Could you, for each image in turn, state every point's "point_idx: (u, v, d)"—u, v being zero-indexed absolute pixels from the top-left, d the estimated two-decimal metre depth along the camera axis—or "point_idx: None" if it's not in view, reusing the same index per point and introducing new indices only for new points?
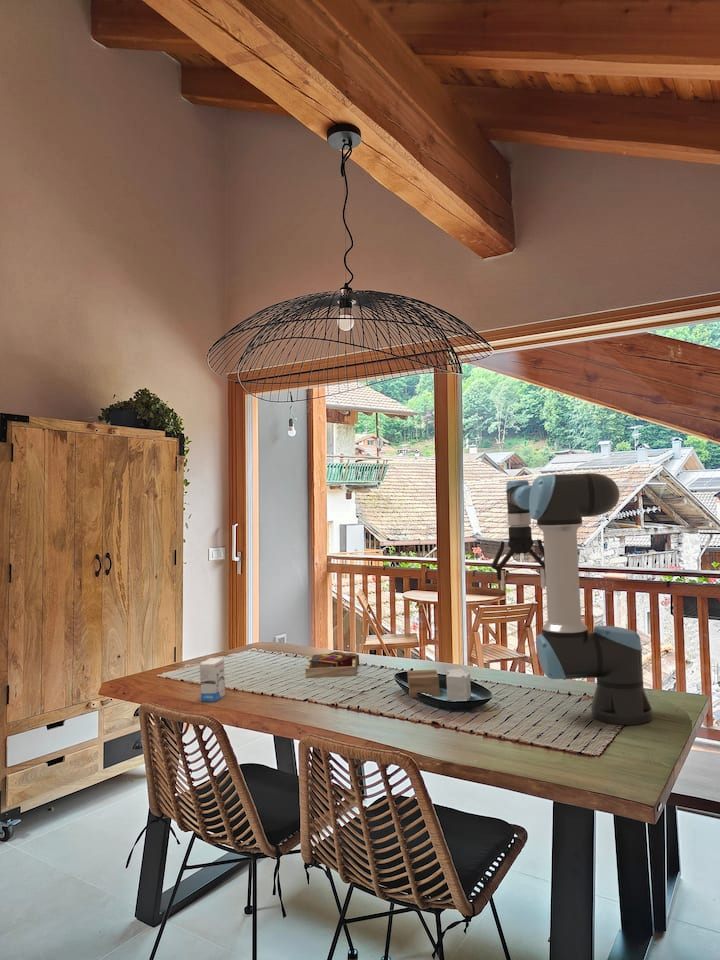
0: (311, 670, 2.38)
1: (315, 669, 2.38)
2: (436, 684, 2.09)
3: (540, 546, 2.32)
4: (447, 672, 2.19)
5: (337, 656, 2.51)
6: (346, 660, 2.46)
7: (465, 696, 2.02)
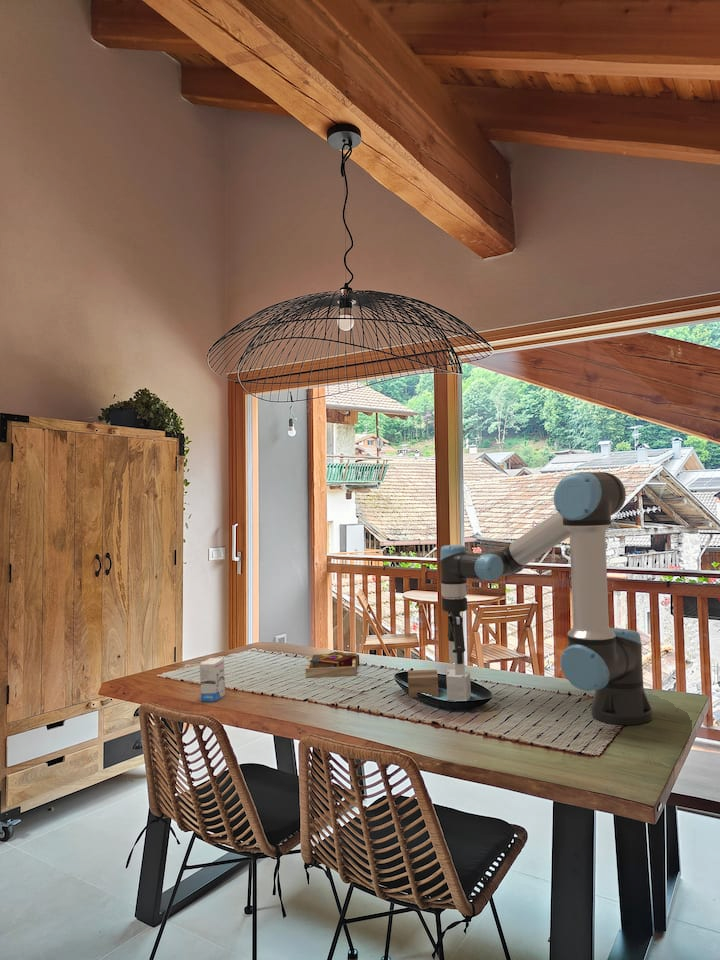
0: (311, 670, 2.38)
1: (315, 669, 2.38)
2: (436, 684, 2.09)
3: (453, 625, 2.00)
4: (447, 672, 2.19)
5: (337, 656, 2.51)
6: (347, 660, 2.46)
7: (465, 696, 2.02)
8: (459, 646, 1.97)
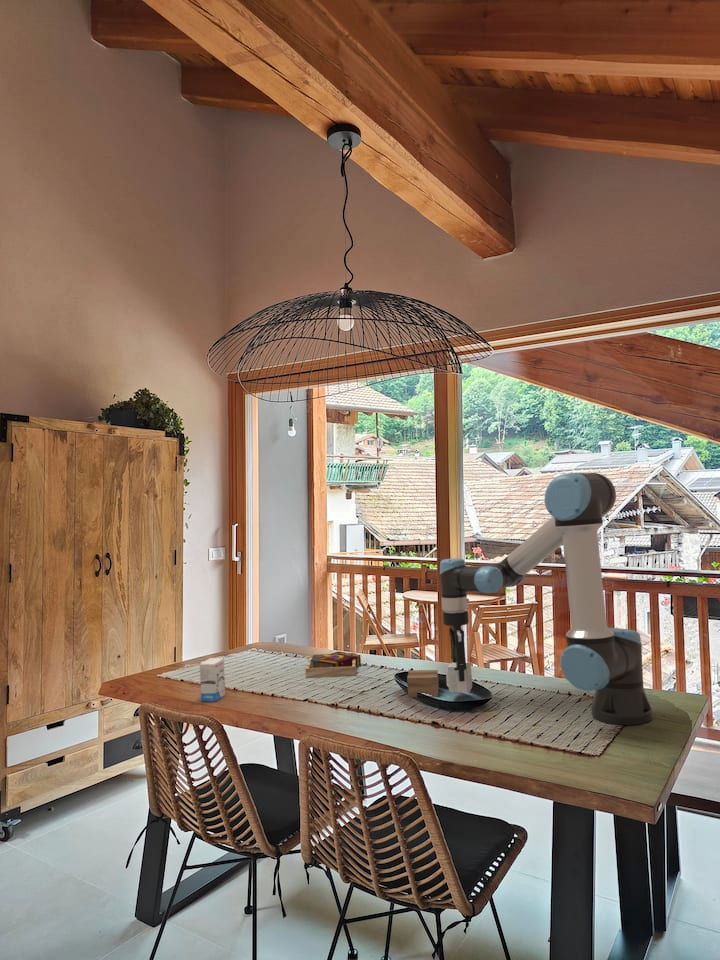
0: (311, 670, 2.38)
1: (315, 669, 2.38)
2: (435, 684, 2.09)
3: (455, 642, 2.00)
4: (447, 672, 2.19)
5: (338, 656, 2.51)
6: (347, 660, 2.46)
7: (467, 686, 2.02)
8: (460, 664, 1.98)
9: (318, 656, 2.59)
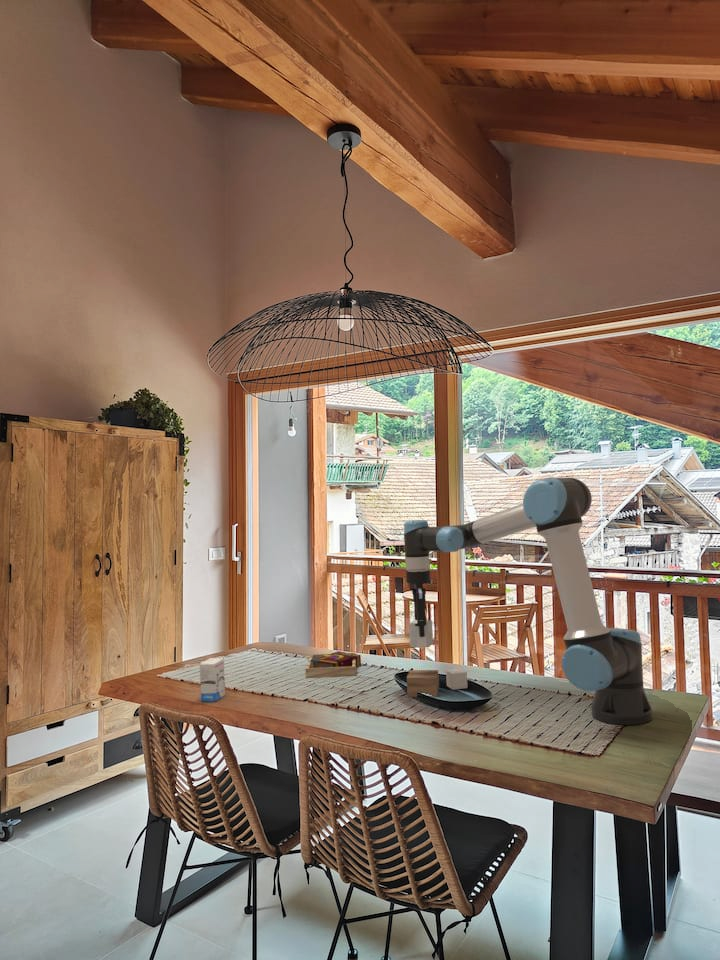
0: (311, 670, 2.38)
1: (315, 669, 2.38)
2: (434, 684, 2.09)
3: (416, 599, 2.09)
4: (447, 672, 2.19)
5: (338, 656, 2.51)
6: (347, 660, 2.46)
7: (427, 641, 2.10)
8: (421, 620, 2.07)
9: (318, 656, 2.59)
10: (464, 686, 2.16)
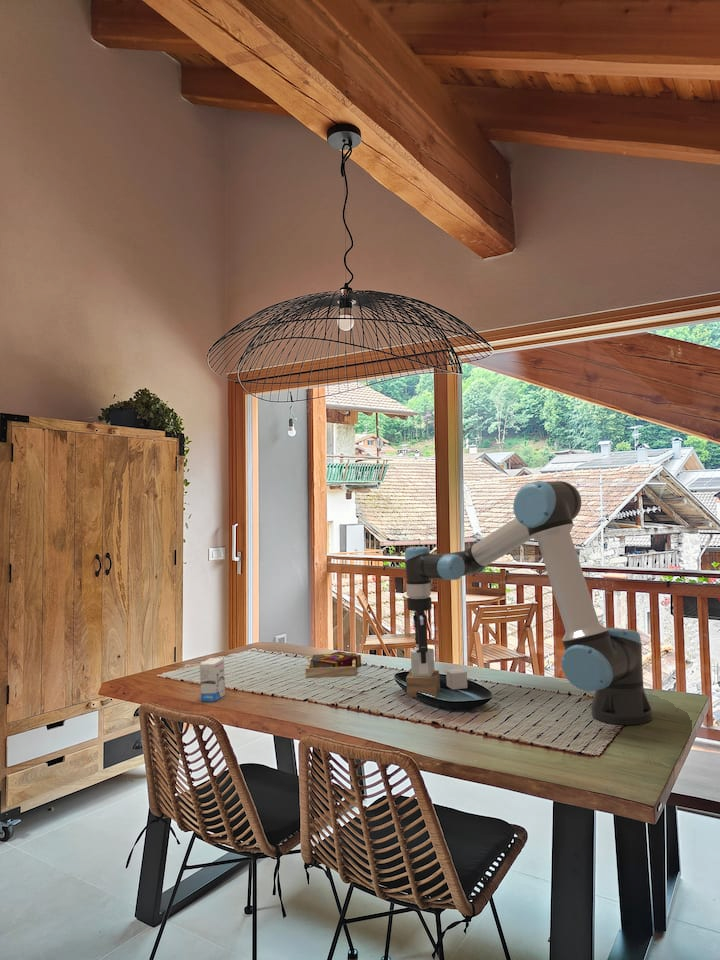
0: (311, 670, 2.38)
1: (315, 669, 2.38)
2: (433, 685, 2.08)
3: (417, 625, 2.08)
4: (447, 672, 2.19)
5: (339, 656, 2.51)
6: (347, 660, 2.46)
7: (428, 671, 2.10)
8: (422, 646, 2.06)
9: (318, 656, 2.59)
10: (464, 686, 2.16)
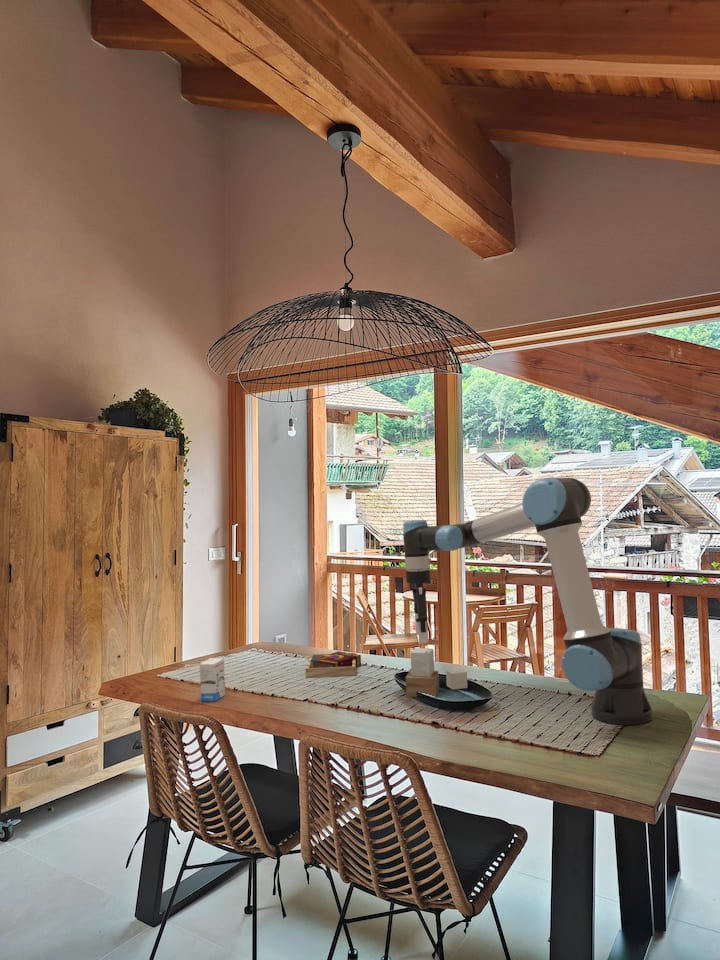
0: (311, 670, 2.38)
1: (315, 669, 2.38)
2: (433, 685, 2.08)
3: (416, 595, 2.08)
4: (447, 672, 2.19)
5: (339, 656, 2.51)
6: (347, 660, 2.46)
7: (428, 671, 2.10)
8: (421, 615, 2.04)
9: (318, 656, 2.59)
10: (464, 686, 2.16)
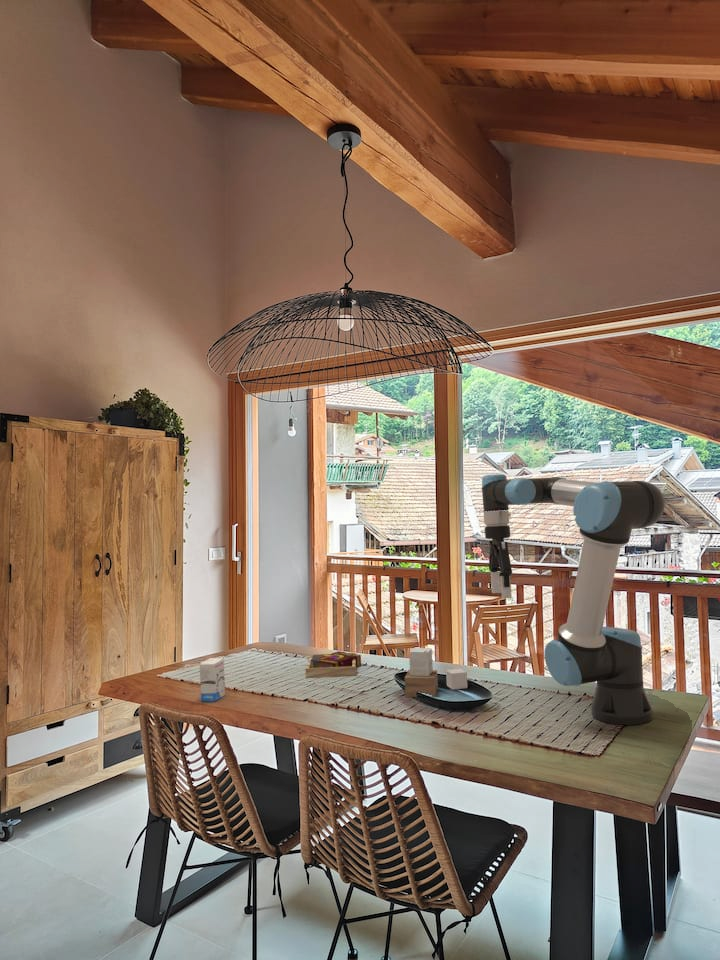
0: (311, 670, 2.38)
1: (315, 669, 2.38)
2: (432, 684, 2.09)
3: (499, 549, 2.04)
4: (447, 672, 2.19)
5: (339, 656, 2.51)
6: (347, 660, 2.46)
7: (427, 670, 2.10)
8: (506, 569, 2.00)
9: (318, 656, 2.59)
10: (464, 686, 2.16)
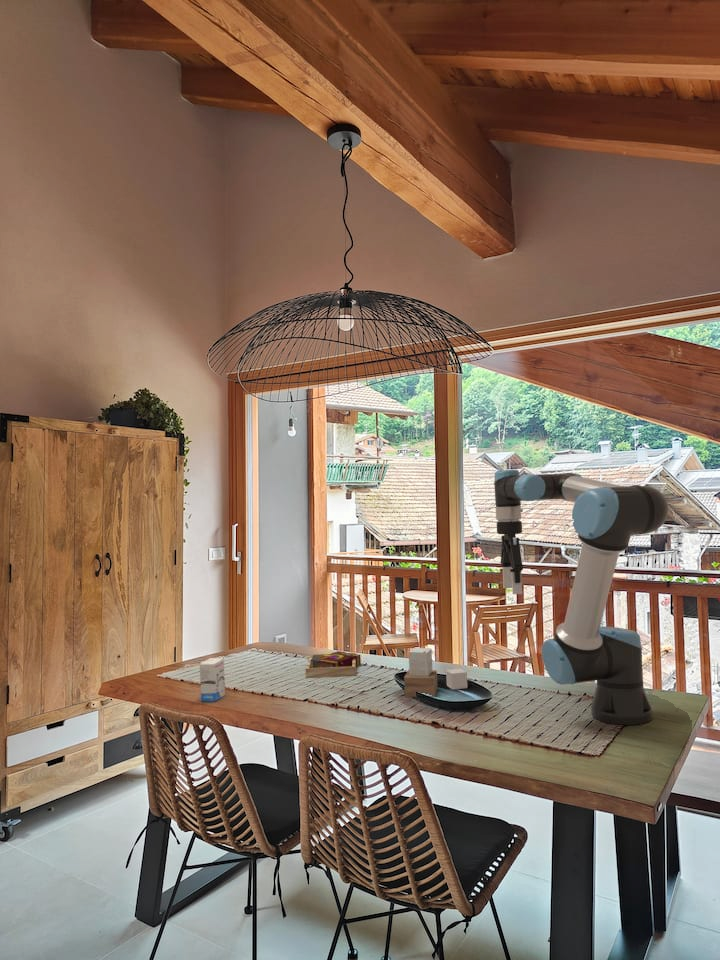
0: (311, 670, 2.38)
1: (315, 669, 2.38)
2: (431, 684, 2.09)
3: (510, 545, 2.03)
4: (447, 672, 2.19)
5: (338, 656, 2.51)
6: (347, 660, 2.46)
7: (426, 671, 2.10)
8: (517, 565, 2.00)
9: (318, 656, 2.59)
10: (464, 686, 2.16)
